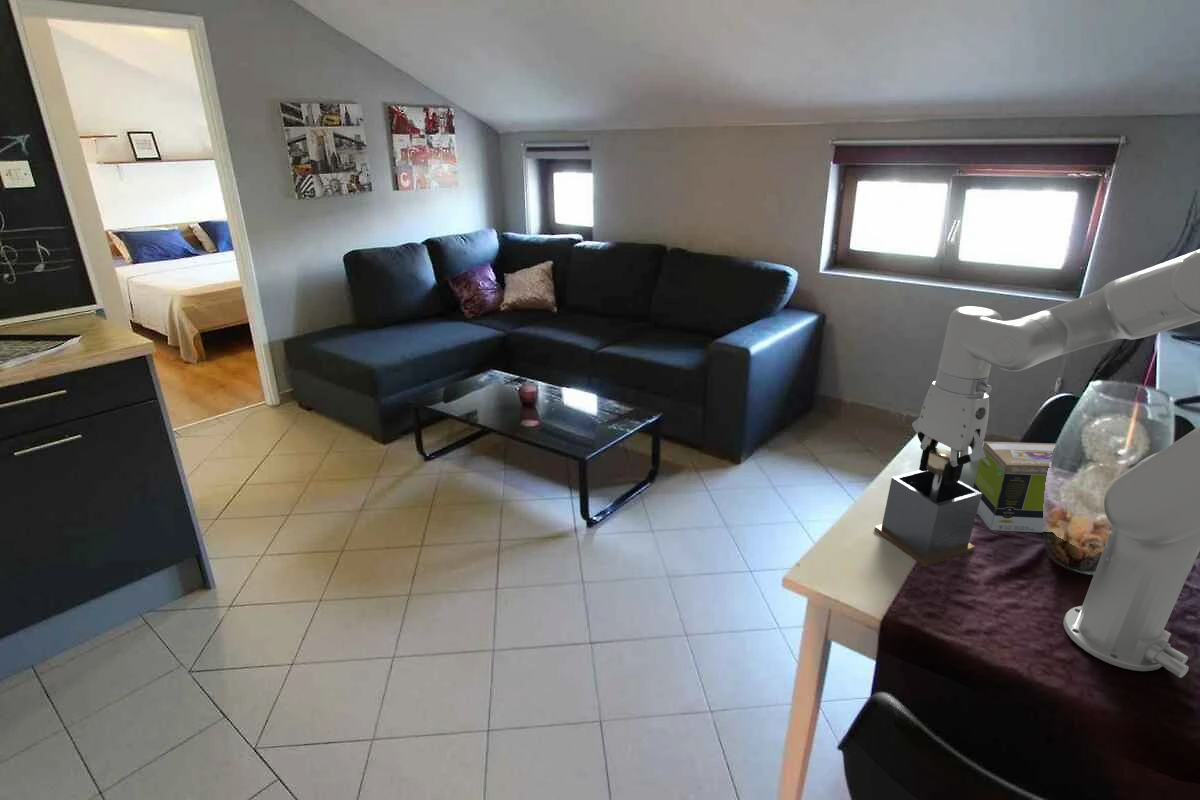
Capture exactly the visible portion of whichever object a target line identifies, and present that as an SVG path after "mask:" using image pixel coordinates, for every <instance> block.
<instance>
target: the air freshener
mask: <svg viewBox="0 0 1200 800" xmlns="http://www.w3.org/2000/svg"><path fill="white" fill-rule="evenodd" d="M984 442H985V441H984ZM984 442H983V445H984ZM983 445H982V447H983ZM979 462H980V460H976V461H971V462H968V463H966V464H964V465H963V468H962V472H961V476H960V479H959V481H961V482H963V483H964V484H966V485H968V486H970V487H972V488H973V486H974V482H975V478H976V474H977V470H978V466H979Z"/></svg>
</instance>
